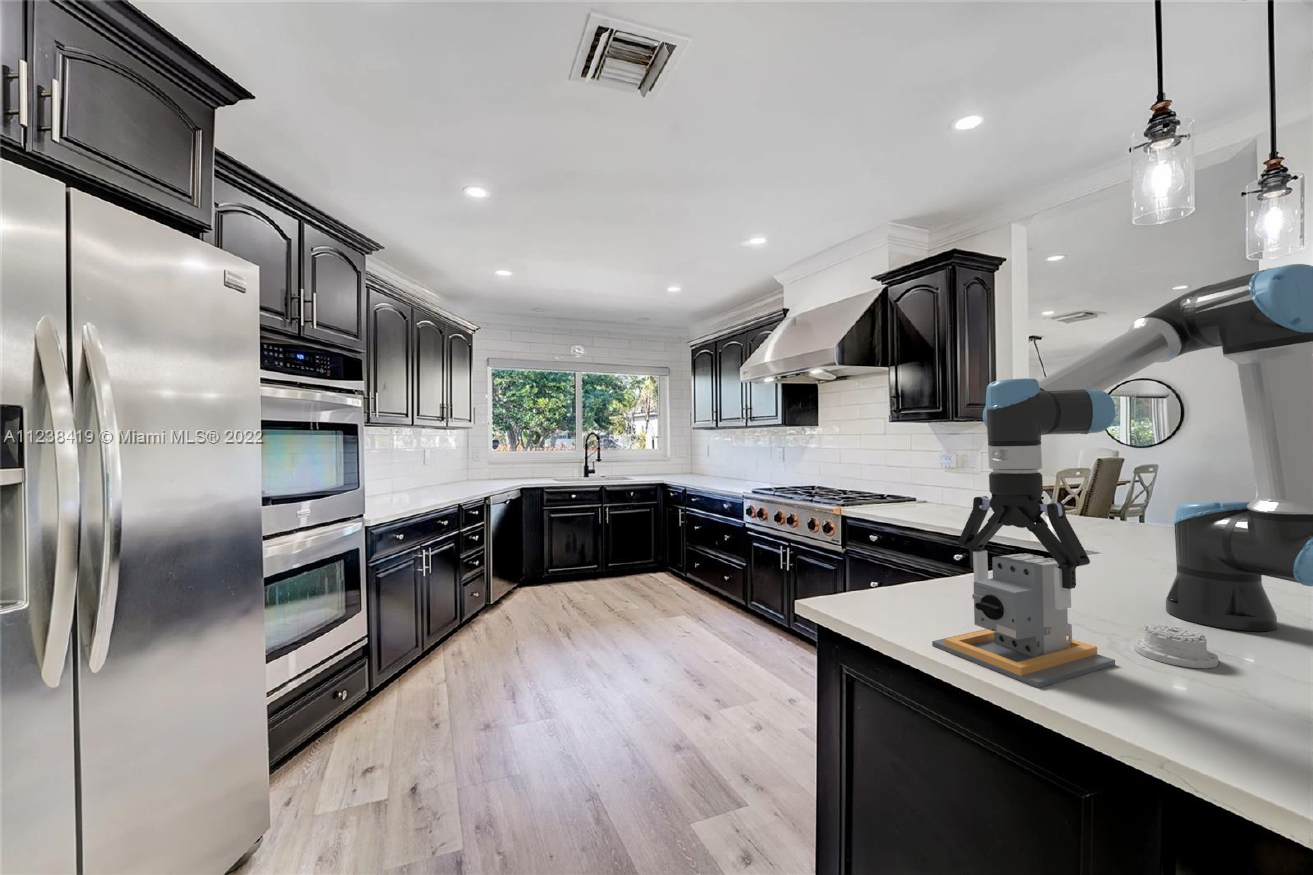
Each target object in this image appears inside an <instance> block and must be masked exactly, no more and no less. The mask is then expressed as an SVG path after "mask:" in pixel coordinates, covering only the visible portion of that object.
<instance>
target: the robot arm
mask: <svg viewBox="0 0 1313 875" xmlns="http://www.w3.org/2000/svg"><path fill="white" fill-rule="evenodd" d="M1217 347H1219V348H1221V349H1222V353H1223V357H1224V358H1226V359H1228V360H1230V361H1231V362H1234V363H1235V364H1236V365H1237V371H1238V376H1239V383H1240V391H1241V396H1242V402H1243V403H1242V404H1243V409H1244V415H1245V421H1246V428H1247V434H1248V441H1249V447H1250V454H1251V460H1252V467H1253V472H1254V480H1255V485H1256V491H1257V497H1256V498H1254V499H1253V500H1252V501H1218V502H1217V501H1216V502H1215V501H1213V502H1210V501H1209V502H1207V501H1206V502H1184V503H1181V504H1179V505H1177V507H1176V509H1175V516H1174V517H1175V518H1174V522H1173V525H1174V538H1175V539H1174V540H1175V557H1176V558H1175V560H1176V561H1175V562H1176V575H1175V578H1174V580H1173V582H1172V585H1171V587H1170V589H1169V592H1168V594H1167V596H1166V599H1165V611H1166V613H1168V614H1169V615H1171V616H1173V617H1176V618H1178V619H1181V620H1185V621H1187V622H1190V623H1191V622H1192V623H1196V624H1199V625H1204V626H1209V627H1215V628H1221V629H1228V630H1236V631H1247V632H1248V631H1249V632H1268V631H1270V632H1271V631H1273V630H1276V629H1278V617H1277V614H1276V612H1275V609H1274V608H1273V605H1272V604H1271V601H1270V599H1269V597H1268V595H1267V593H1266V591H1265V589H1264V586H1263V583H1262V582H1263V581H1262V580H1263V578H1262V577H1263V576H1265V577H1269V578H1274V579H1280V580H1283V581H1288V582H1293V583H1297V584H1300V585H1303V586H1307V587H1313V265H1311V264H1305V263H1292V264H1286V265H1282V266H1277V267H1271V268H1270V267H1269V268H1266V269H1262V270H1258V271H1256V272H1252V273H1248V274H1245V275H1241V276H1239V277H1235V278H1230V279H1228V280H1225V281H1221V282H1218V283H1213V284H1209V285H1205V286H1202V287H1199V288H1196V289H1194V290H1191V291H1189V292H1187V293H1184V294H1183V295H1182V294H1181V296H1180V295H1179V297H1177V298H1174V299H1173V300H1171V301H1170V302H1168V303H1165V304H1163V305H1162V306H1160V307H1158V308H1157V309H1155V310H1153V311H1151V312H1150V313H1148V314H1146V315H1145V316H1143V317H1141V318H1139V319H1137V320H1135V321H1134V322H1133V323H1132V324H1131V325H1130V326H1129V328H1128V330H1127V331H1126V332H1125V333H1123V334H1121V335H1119V336H1117V337H1115V338H1114V339H1112V340H1110V341H1109V342H1106V343H1104V344H1103V345H1101V346H1099V347H1097V348H1095V349H1093V350H1092V351H1090V352H1089V353H1086V354H1084V355H1082V356H1080V357H1079V358H1078V359H1076V360H1074V361H1072V362H1069V363H1068V364H1067V365H1064V366H1063V367H1061V368H1059V369H1058V370H1056V371H1053V372H1052V373H1050V374H1049V375H1047V376H1045V377H1043V378H1041V379H1039V380H1038V379H1036V378H1029V377H1028V378H1026V377H1025V378H1010V379H1009V378H1008V379H1000V380H995V381H992V382H990V383H989V384H988V385H987V386H986V392H985V393H986V394H985V407H984V409H983V412H982V421H983V423H984V426H985V427H986V429H987V430H986V431H987V449H988V451H987V455H988V456H987V458H988V469H990V470H992V472H989V474H988V483H989V484H988V487H989V488H988V490H989V492H990V493H991V497H990V498H989V497H988V496H987V495H983V496H975V497H973V503H972V510H971V512H970V514H969V517H968V518H967V521H966V524H965V525H964V528H963V530H962V532H961V533H960V535H959V539H958V544H959V546H963V547H966V548H967V549H968V551H969V565H970V566H969V567H970V568H971V569H973V582H974V581H979V580H986V579H989V566H988V563H989V561H988V550H986V549H985V546H986V545H987V544H988V543H989V541H990V540H992V538H993V537H994V536H995V535H996V534H997V533H998V531H999V530H1000V529H1001V528H1002V527H1003V526H1004V527H1005V526H1006V527H1011V526H1014V527H1016V528H1020V529H1024V528H1026V529H1027V530H1028V531H1029V532H1030V533H1033V535H1034V536H1035V537H1036V539H1037V540H1038V541H1039V542H1040V543H1041V544H1042V546H1043V547H1044V548H1045V550H1046V551H1047V552H1048V553H1049V554H1050V556H1051V557H1052V559H1055V561H1056V562H1057V563H1058V564H1059V566H1057V567H1054V587H1055V609H1058V610H1063V609H1067V610H1068V609H1070V608H1072V594H1071V593H1072V590H1071V589H1075V588H1076V587H1077V578H1076V577H1077V576H1076V573H1077V572H1076V569H1077V567H1083V566H1086V565H1089V564H1090V563H1091V559H1090V557H1089V555H1088V554H1087V553H1086V551H1085V548H1084V547H1083V545H1082V543H1081V540H1080V539H1079V538H1078V535H1077V534H1076V533H1075V530H1074V529H1073V527H1072V525H1071V523H1070V522H1069V520H1068V517H1067V515H1066V508H1065V504H1064V503H1063V502H1052V503H1044V502H1043V499H1042V496H1043V493H1044V484H1043V474H1042V473H1041V472H1039V471H1038V470H1041V469H1042V468H1043V459H1042V458H1043V457H1042V456H1043V455H1042V436H1045V435H1089V434H1094V433H1095V434H1097V433H1100V432H1104V431H1107V429H1109V427H1111V425H1112V424H1113V423H1114V421H1115V417H1116V403H1115V402H1114V399H1113V398H1112V396H1111V395H1110V394H1109V393H1107V392H1106V390H1107V389H1109V388H1111V387H1113V386H1115V385H1116V384H1118V383H1120V382H1123V381H1124V380H1126V379H1128V378H1129V377H1131V376H1133V375H1134V374H1137V373H1138V372H1141V371H1142V370H1143V369H1146V368H1147V367H1150V366H1151V365H1153V364H1155V363H1166V362H1170V361H1171V360H1174V359H1175V358H1177V357H1179V356H1182V355H1185V354H1187V353H1191V352H1195V351H1196V352H1197V351H1199V350H1200V351H1201V350H1206V349H1213V348H1217ZM990 508H991V510H992V512H993V514H992V515H990V517H989V518H988V519H987V523H985V525H983V527H982V524H983V522H984V520H985V518H986V516H987V514H988V512H989V511H988V510H990ZM1043 513H1044V516H1047V517H1048V521H1049V523H1050V525H1051V527H1052V530H1054V532H1055V534H1056V535H1055V534H1054V533H1053V531H1052V530H1051V529H1050V528H1049V524H1048V522H1046V520H1045V518H1043V517H1042V515H1043ZM981 527H982V528H981Z"/></svg>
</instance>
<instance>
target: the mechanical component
mask: <svg viewBox="0 0 1313 875" xmlns="http://www.w3.org/2000/svg"><path fill="white" fill-rule="evenodd" d="M1207 641H1208V640H1207V638H1206V635H1204V634H1202V633H1201V632H1197V631H1195V630H1191V629H1188V628H1184V627H1182V626H1175V625H1174V626H1172V625H1168V624H1150V625H1144V627H1143V637H1142V638H1137V639H1135V640H1134V642H1133V644H1134V646H1133V647H1134V651H1136V653H1137V654H1139V655H1141V656H1144V657H1146V658H1147V659H1148V658H1149V659H1151V660H1154V661H1156V662H1161V663H1165V664H1169V665H1171V666H1172V665H1174V666H1177V667H1186V668H1193V669H1212V668H1216V667H1218V665H1219V656H1218V655H1217V654H1216V652H1215V653H1214V652H1213V651H1211V650H1208V648H1207Z"/></svg>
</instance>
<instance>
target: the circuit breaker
mask: <svg viewBox="0 0 1313 875" xmlns="http://www.w3.org/2000/svg"><path fill="white" fill-rule="evenodd" d="M991 560H992V578H988V579H986V580H979V581H974V580H973V593H972V599H973V613H974V614H973V615H974V618H973V619H974V621H973V622H974V625H975V626H977V627H980V628H983V629H988V630H991V631H995V632H994V643H996V644H998V645H1001V646H1004V647H1006V648H1009V649H1012V650H1014V651H1017V652H1019V653H1022V654H1025V655H1027V656H1030V657H1032V658H1035V657H1039V656H1043V655H1046V654H1050V653H1054V652H1058V651H1061V650H1065V649H1069V648H1070V643H1072V639H1073V628H1072V627H1073V626H1072V625H1073V624H1071V623H1069V621H1068V620H1069V618H1068V617H1069V616H1068V615H1069V614H1068V608H1067V609H1063V610H1058V609H1055V587H1054V567H1057V566H1059V564H1058V563H1057V562H1056V561H1055V559H1054V558H1053V557H1052V558H1051V557H1047V558H1046V557H1045V556H1041V555H1035V554H1033V553H1032V554H1031V553H1025V552H1024V553H1016V554H1007V555H1006V554H1005V555H999V556H992V559H991ZM1067 637H1068V638H1069V640H1066V638H1067Z"/></svg>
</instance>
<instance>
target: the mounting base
mask: <svg viewBox="0 0 1313 875" xmlns="http://www.w3.org/2000/svg"><path fill="white" fill-rule="evenodd" d="M994 632H995V631H991V630H988V629H985V628H983V629H980V630H976V631H971V632H967V633H964V634H963V633H962V634H959V635H954V636H950V637H945V638H941V639H937V640H932V641H931V645H932V646H933V647H935V648H937V649H939V650H942V651H945V652H947V653H950V654H952V655H955V656H957V657H960V658H963V659H964V660H967V661H970V662H973V663H975V664H977V665H978V666H979V665H980V666H981V667H985V668H987V669H989V670H993V671H994V672H998V673H1000V674H1002V675H1004V676H1007V677H1010V678H1013V679H1014V680H1017V681H1020V682H1023V683H1025V684H1027V685H1030V686H1032V687H1035V688H1038V689H1039V688H1043V687H1047V686H1049V685H1054V684H1056V682H1057V683H1060V682H1063V681H1066V680H1070V679H1072V678H1076V677H1079V676H1083V675H1086V674H1089V673H1092V672H1095V671H1096V672H1097V671H1100V670H1102V669H1106V668H1109V667H1112V666H1115V665H1116V659H1114V658H1111V657H1108V656H1105V655H1101V654H1098V647H1097V646H1096V645H1092V644H1089V643H1085V642H1082V641H1079V640H1076V639H1073V638H1072V643H1070V648H1069V649H1065V650H1061V651H1058V652H1054V653H1050V654H1046V655H1043V656H1039V657H1035V658H1032V657H1030V656H1027V655H1025V654H1022V653H1019V652H1017V651H1014V650H1012V649H1009V648H1006V647H1004V646H1001V645H998V644H996V643H994ZM1066 640H1069V637H1066Z"/></svg>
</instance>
